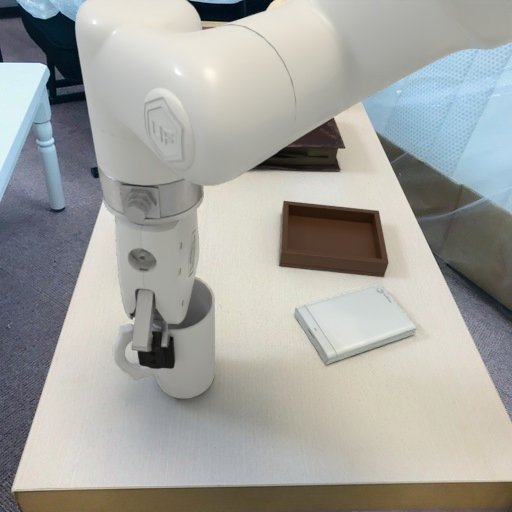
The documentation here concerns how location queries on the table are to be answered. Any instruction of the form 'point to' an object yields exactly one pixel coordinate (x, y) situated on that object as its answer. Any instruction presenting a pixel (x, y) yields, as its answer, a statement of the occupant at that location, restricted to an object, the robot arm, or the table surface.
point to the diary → (310, 151)
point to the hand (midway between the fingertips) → (165, 332)
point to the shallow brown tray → (332, 239)
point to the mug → (180, 348)
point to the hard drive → (353, 322)
